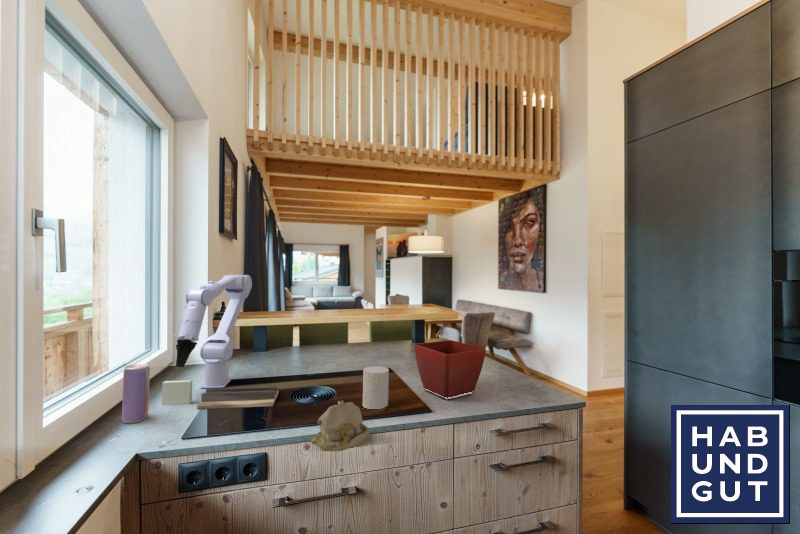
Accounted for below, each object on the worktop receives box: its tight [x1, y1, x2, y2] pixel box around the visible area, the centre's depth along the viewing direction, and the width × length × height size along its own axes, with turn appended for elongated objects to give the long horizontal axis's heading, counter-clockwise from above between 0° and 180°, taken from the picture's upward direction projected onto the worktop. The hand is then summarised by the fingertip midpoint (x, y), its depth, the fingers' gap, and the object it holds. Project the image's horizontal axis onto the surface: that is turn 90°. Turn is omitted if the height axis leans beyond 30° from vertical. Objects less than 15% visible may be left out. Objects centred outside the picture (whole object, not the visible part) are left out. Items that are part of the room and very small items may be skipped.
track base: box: [196, 386, 279, 410], centre depth 117 cm, size 12×22×4 cm, turn 101°
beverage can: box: [121, 363, 151, 424], centre depth 101 cm, size 6×6×15 cm
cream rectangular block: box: [161, 379, 193, 406], centre depth 114 cm, size 2×8×7 cm, turn 100°
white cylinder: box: [362, 365, 390, 409], centre depth 114 cm, size 8×8×12 cm
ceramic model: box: [311, 400, 371, 452], centre depth 92 cm, size 14×11×10 cm
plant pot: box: [413, 339, 487, 398], centre depth 130 cm, size 19×19×17 cm
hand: (180, 365), depth 113 cm, fingers open, 7 cm apart
